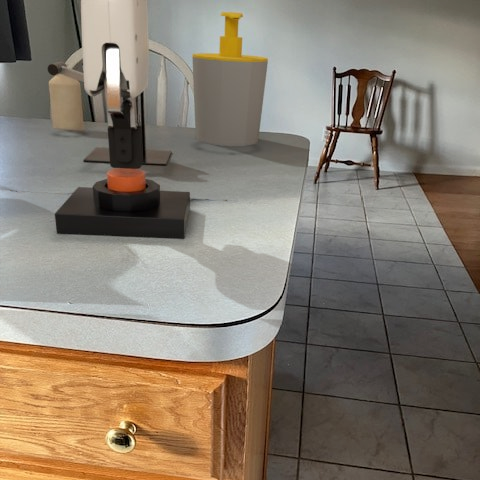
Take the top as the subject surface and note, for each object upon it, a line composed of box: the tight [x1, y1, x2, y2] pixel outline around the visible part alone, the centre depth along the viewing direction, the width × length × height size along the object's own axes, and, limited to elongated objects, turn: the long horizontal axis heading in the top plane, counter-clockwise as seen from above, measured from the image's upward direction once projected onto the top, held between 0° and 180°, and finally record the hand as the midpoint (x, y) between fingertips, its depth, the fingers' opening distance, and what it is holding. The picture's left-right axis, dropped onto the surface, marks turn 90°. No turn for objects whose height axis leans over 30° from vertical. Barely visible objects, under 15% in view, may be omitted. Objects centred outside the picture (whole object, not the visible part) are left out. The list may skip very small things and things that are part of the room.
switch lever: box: [47, 61, 84, 83], centre depth 78 cm, size 12×5×2 cm, turn 91°
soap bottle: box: [191, 11, 269, 147], centre depth 95 cm, size 13×13×21 cm
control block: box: [54, 178, 191, 240], centre depth 59 cm, size 13×10×4 cm
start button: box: [106, 168, 146, 192], centre depth 58 cm, size 4×4×2 cm
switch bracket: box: [82, 90, 172, 167], centre depth 81 cm, size 12×9×12 cm
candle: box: [48, 74, 85, 131], centre depth 100 cm, size 6×6×10 cm
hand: (127, 166), depth 57 cm, fingers closed
